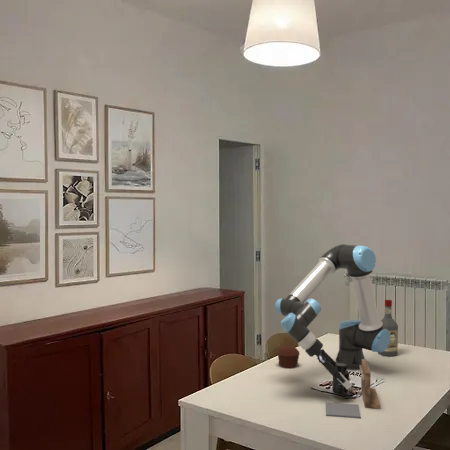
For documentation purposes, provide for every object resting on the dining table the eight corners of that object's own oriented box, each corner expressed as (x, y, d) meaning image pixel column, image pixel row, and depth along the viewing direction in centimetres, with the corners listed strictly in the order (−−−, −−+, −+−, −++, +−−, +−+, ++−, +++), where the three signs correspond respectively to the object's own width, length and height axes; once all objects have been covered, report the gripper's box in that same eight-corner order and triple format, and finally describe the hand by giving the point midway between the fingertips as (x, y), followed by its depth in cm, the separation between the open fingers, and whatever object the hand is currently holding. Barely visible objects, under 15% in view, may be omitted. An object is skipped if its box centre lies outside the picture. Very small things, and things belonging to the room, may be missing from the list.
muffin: (285, 361, 279) (285, 342, 279) (303, 365, 272) (304, 345, 272) (272, 366, 270) (272, 346, 270) (291, 370, 263) (291, 350, 263)
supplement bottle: (339, 396, 221) (339, 367, 221) (328, 391, 228) (329, 363, 227) (352, 393, 225) (352, 365, 224) (341, 388, 231) (341, 361, 230)
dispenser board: (362, 407, 215) (362, 372, 214) (358, 390, 235) (359, 359, 234) (380, 408, 214) (380, 374, 213) (375, 391, 233) (375, 360, 233)
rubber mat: (326, 415, 206) (326, 414, 206) (325, 403, 219) (325, 402, 219) (360, 418, 204) (360, 416, 204) (358, 405, 216) (358, 404, 216)
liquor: (375, 352, 297) (376, 299, 296) (389, 351, 299) (390, 298, 298) (385, 357, 288) (386, 302, 287) (399, 356, 291) (400, 301, 290)
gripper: (304, 344, 238) (341, 382, 236) (303, 356, 218) (343, 398, 216) (317, 333, 237) (354, 371, 235) (317, 344, 217) (357, 386, 215)
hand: (349, 384), depth 225 cm, fingers closed on supplement bottle, 7 cm apart
